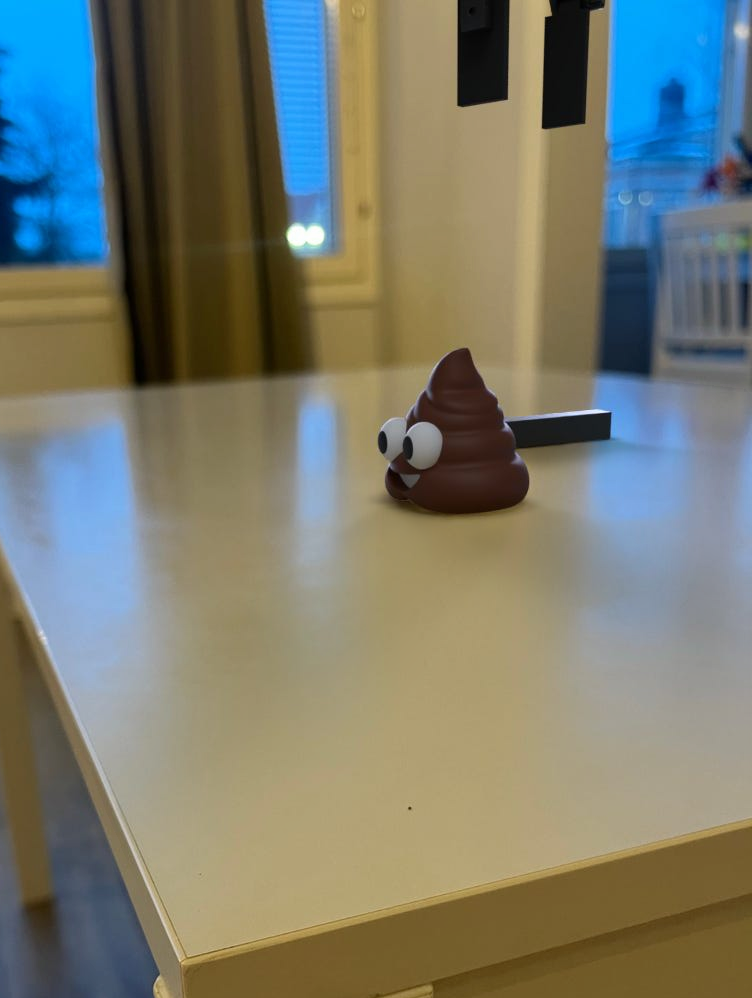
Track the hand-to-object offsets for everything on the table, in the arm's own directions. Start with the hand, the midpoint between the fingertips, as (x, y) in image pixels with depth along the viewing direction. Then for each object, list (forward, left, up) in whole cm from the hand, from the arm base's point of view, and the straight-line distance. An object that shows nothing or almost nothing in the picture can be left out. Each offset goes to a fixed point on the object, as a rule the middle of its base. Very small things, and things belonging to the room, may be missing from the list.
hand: (526, 116), depth 60 cm
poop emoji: (+7, +5, -23) cm, 24 cm away
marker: (-7, -13, -22) cm, 27 cm away
